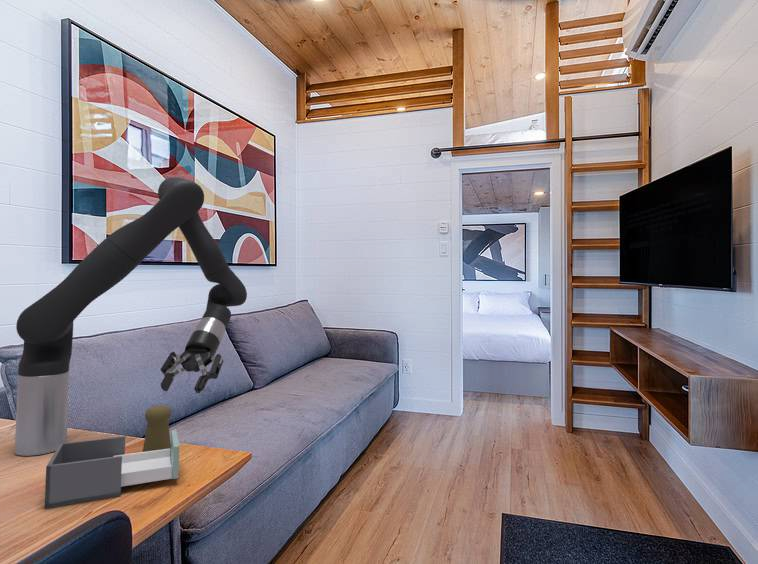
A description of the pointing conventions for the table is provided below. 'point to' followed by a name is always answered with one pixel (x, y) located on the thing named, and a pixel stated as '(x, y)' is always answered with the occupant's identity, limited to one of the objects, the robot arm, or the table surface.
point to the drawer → (151, 464)
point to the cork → (157, 428)
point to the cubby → (84, 472)
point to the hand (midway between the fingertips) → (180, 390)
